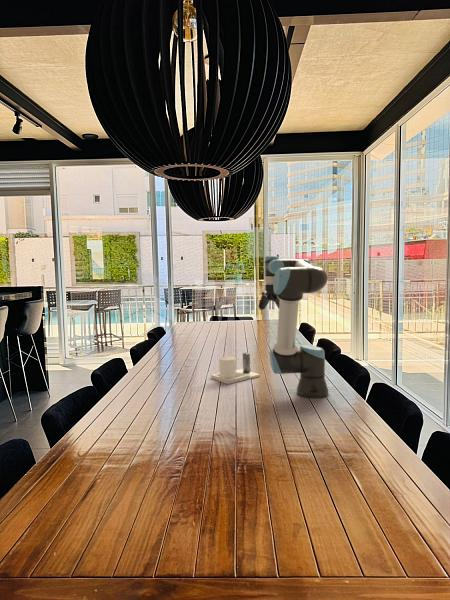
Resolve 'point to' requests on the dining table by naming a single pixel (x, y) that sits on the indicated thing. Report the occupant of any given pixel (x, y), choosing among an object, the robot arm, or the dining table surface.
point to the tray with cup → (239, 372)
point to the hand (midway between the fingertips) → (272, 321)
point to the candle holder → (227, 367)
